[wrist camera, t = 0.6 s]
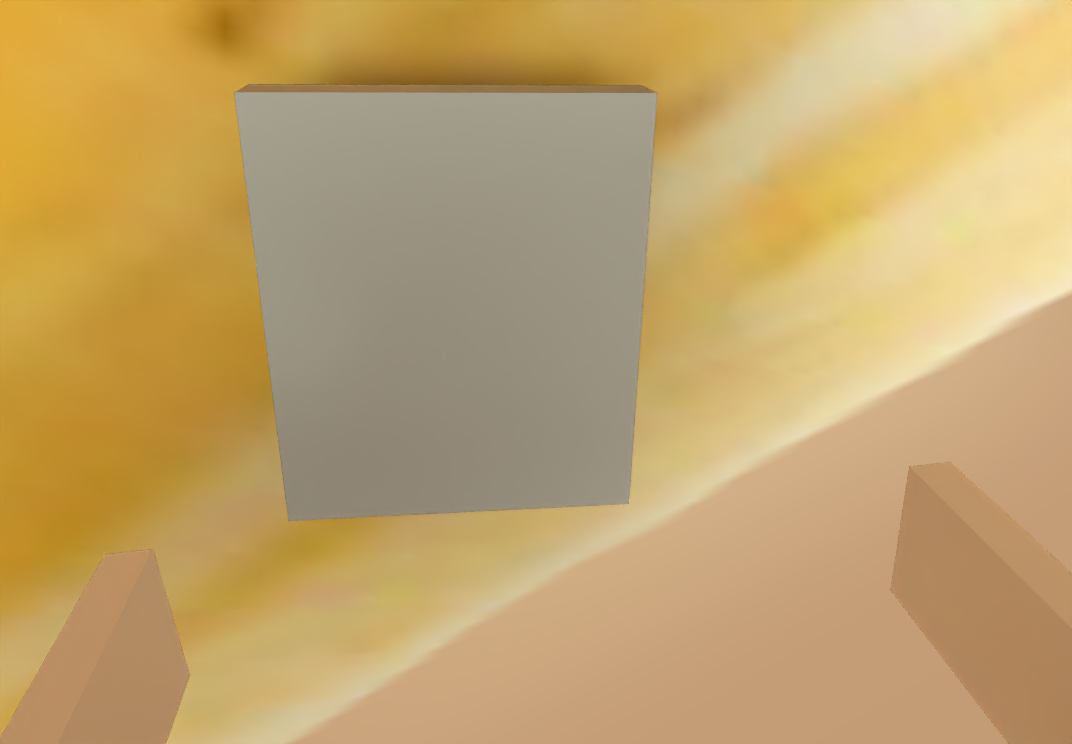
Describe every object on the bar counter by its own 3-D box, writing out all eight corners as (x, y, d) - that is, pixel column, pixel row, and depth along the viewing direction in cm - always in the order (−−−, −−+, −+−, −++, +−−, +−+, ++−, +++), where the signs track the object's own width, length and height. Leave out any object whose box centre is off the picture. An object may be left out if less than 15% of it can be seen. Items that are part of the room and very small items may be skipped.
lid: (297, 487, 29) (288, 520, 27) (249, 84, 23) (234, 92, 22) (617, 472, 30) (629, 503, 28) (640, 85, 25) (657, 93, 23)
